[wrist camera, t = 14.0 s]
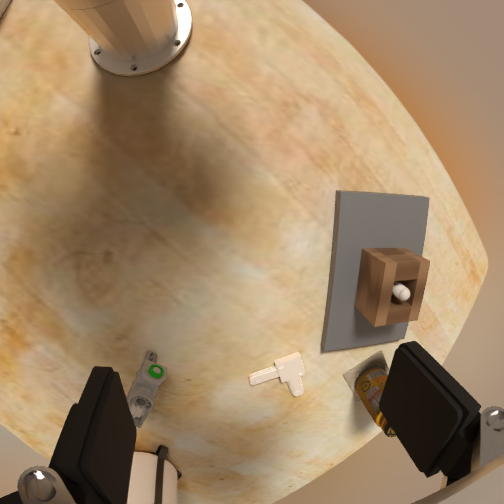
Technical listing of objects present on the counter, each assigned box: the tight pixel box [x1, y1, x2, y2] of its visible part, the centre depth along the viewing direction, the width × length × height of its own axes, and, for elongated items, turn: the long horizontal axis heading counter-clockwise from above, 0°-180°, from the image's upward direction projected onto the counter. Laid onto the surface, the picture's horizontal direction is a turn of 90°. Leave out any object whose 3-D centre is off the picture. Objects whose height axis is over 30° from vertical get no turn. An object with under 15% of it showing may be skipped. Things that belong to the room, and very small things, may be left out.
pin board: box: [321, 190, 429, 352], centre depth 37 cm, size 22×14×8 cm, turn 179°
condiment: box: [343, 351, 396, 437], centre depth 41 cm, size 7×8×12 cm
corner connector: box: [249, 352, 306, 397], centre depth 43 cm, size 8×8×2 cm
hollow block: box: [354, 248, 430, 327], centre depth 37 cm, size 8×7×6 cm
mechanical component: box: [126, 351, 167, 428], centre depth 35 cm, size 3×10×10 cm, turn 149°
